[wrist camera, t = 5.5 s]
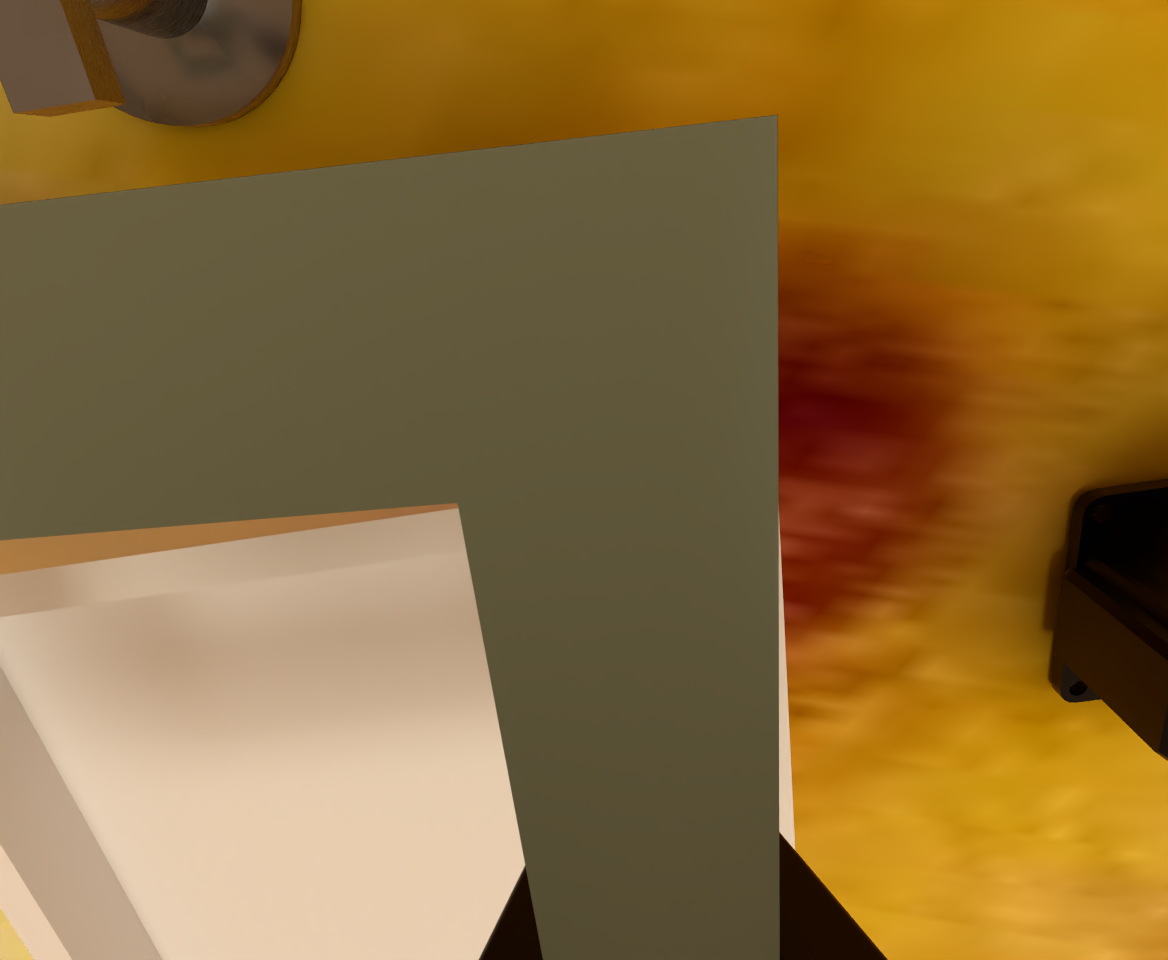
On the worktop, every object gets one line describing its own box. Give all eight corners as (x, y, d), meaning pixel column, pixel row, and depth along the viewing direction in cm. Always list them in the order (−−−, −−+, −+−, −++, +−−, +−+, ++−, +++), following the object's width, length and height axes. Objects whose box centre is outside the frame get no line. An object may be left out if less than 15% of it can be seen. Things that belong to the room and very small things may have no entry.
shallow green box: (691, 140, 6) (778, 115, 3) (733, 1115, 12) (781, 1480, 8) (-758, 305, 7) (-1861, 420, 4) (-97, 1135, 13) (-338, 1467, 9)
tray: (743, 416, 18) (776, 461, 15) (779, 978, 26) (805, 1073, 23) (-86, 539, 19) (-199, 603, 16) (200, 1050, 27) (159, 1151, 24)
